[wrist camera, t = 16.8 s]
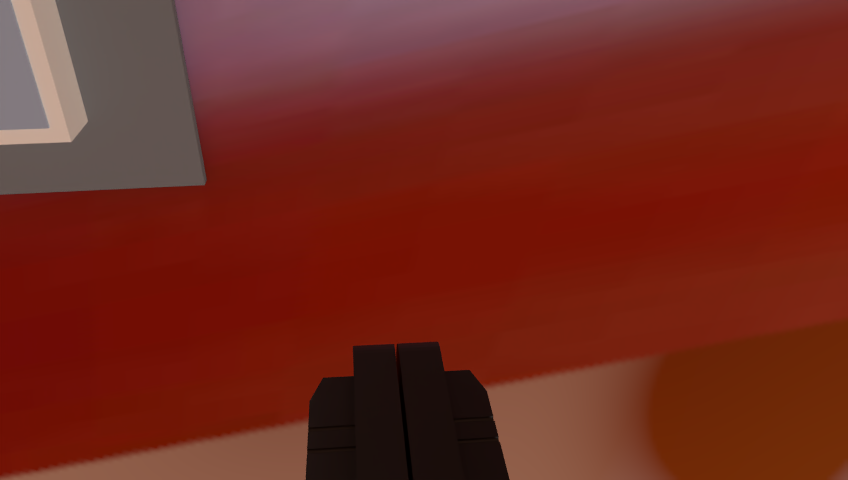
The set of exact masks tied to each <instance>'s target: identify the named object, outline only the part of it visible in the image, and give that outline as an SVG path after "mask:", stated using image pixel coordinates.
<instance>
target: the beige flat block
mask: <svg viewBox="0 0 848 480" xmlns="http://www.w3.org/2000/svg"><path fill="white" fill-rule="evenodd" d="M87 122H88V119H87V116H86V112H85V108H84V105H83V101H82V97H81V94H80V90H79V86H78V83H77V79H76V75H75V72H74V68H73V64H72V60H71V57H70V53H69V49H68V46H67V42H66V38H65V35H64V31H63V27H62V24H61V20H60V16H59V13H58V9H57V5H56V2H55V0H0V145H9V144H34V143H59V142H72V141H73V139H74V138H75V137H76V136H77V135H78V133H79V132H80V131H81V130H82V128H83V127H84V126H85V125H86V123H87Z"/></svg>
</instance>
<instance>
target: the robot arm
mask: <svg viewBox="0 0 848 480" xmlns="http://www.w3.org/2000/svg"><path fill="white" fill-rule="evenodd" d="M353 363H354V376H350V377H331V378H323V379H322V381H321V383H320V384H319V386H318V388H317V389H316V391H315V393H314V395H313V396H312V398H311V400H310V405H309V425H308V427H309V429H308V431H309V432H308V446H307V465H306V480H509V476H508V472H507V468H506V464H505V460H504V457H503V452H502V449H501V445H500V442H499V440H498V433H497V429H496V425H495V421H493V414H492V410H491V406H490V402H489V398H488V394H487V391H486V390H485V388H484V387H483V386H482V385H481V384H480V382H479V381H478V380H477V379H476V377H475V376H474V375H473V374H472V373H471V371H470V370H461V371H444V367H443V362H442V357H441V351H440V346H439V343H438V342H423V343H402V344H397V350H396V356H395V347H394V344H385V345H364V346H353Z"/></svg>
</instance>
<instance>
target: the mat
mask: <svg viewBox="0 0 848 480" xmlns="http://www.w3.org/2000/svg"><path fill="white" fill-rule="evenodd" d="M55 2H56V5H57V9H58V13H59V16H60V20H61V24H62V27H63V31H64V35H65V38H66V42H67V46H68V49H69V53H70V57H71V60H72V64H73V68H74V72H75V75H76V79H77V83H78V86H79V90H80V94H81V97H82V101H83V105H84V108H85V112H86V116H87V119H88V122H87V123H86V125H85V126H84V127H83V128H82V130H81V131H80V132H79V133H78V135H77V136H76V137H75V138H74V139H73V141H72V142H59V143H34V144H9V145H0V194H21V193H42V192H64V191H85V190H107V189H128V188H149V187H171V186H192V185H205V183H206V174H205V168H204V163H203V157H202V152H201V146H200V141H199V135H198V130H197V124H196V118H195V113H194V107H193V102H192V96H191V91H190V85H189V80H188V74H187V68H186V63H185V57H184V52H183V46H182V41H181V35H180V29H179V24H178V18H177V13H176V7H175V2H174V0H55Z"/></svg>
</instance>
